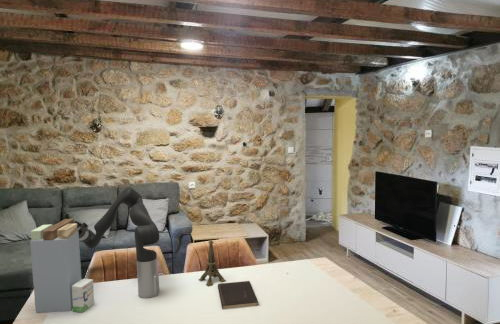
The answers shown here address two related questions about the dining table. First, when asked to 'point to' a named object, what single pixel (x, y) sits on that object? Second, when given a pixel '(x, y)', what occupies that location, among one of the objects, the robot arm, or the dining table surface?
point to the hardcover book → (237, 294)
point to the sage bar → (39, 232)
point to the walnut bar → (55, 229)
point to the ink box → (82, 295)
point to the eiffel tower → (211, 268)
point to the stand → (55, 272)
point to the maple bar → (67, 231)
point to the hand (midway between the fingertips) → (65, 223)
